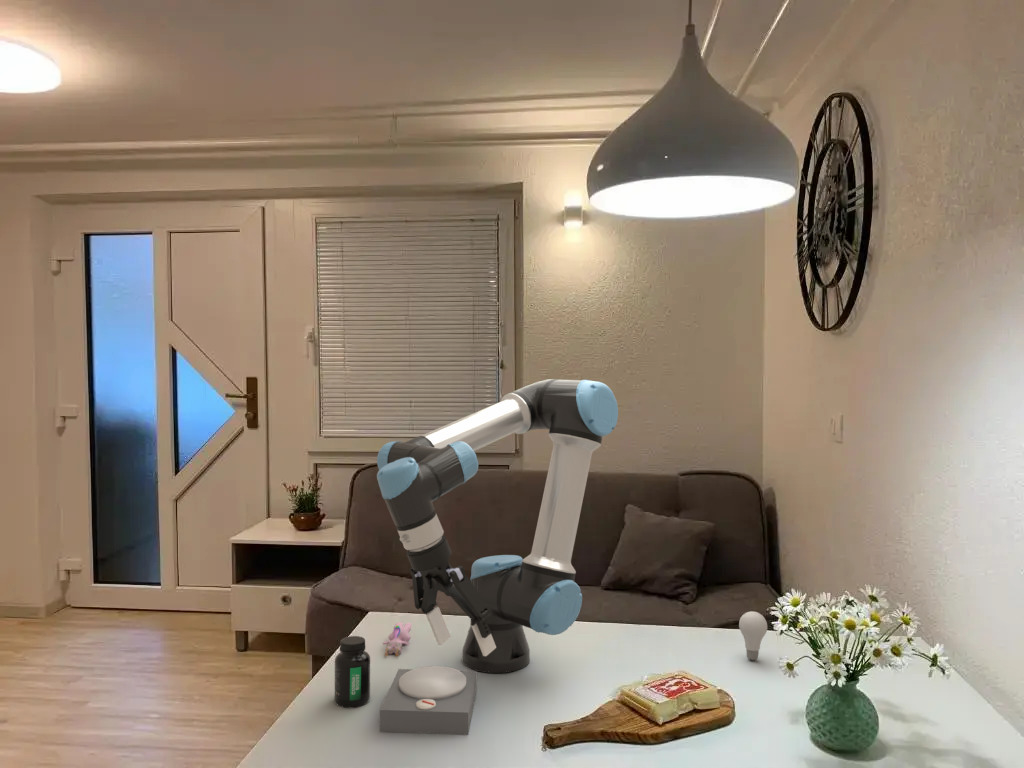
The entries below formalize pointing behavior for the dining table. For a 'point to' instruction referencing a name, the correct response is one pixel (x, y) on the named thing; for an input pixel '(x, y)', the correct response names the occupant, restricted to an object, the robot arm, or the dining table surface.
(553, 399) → the robot arm
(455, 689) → the kitchen scale
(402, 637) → the pink unicorn toy
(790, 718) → the dining table surface
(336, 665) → the supplement bottle
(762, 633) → the lightbulb
